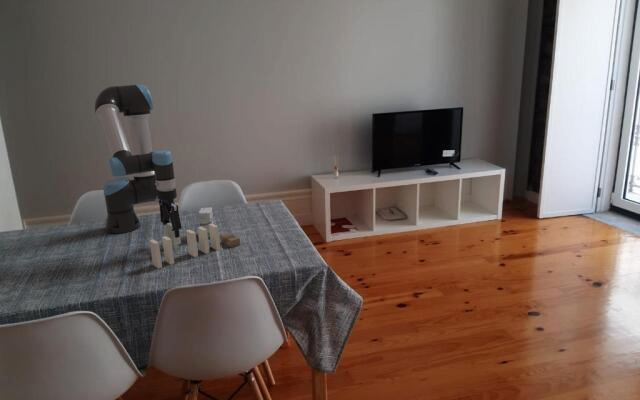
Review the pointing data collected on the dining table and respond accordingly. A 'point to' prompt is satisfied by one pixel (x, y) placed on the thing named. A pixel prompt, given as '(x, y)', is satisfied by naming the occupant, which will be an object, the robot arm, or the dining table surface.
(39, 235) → the dining table surface
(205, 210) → the ink box
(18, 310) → the dining table surface
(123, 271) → the dining table surface
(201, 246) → the domino
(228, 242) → the end block
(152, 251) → the domino
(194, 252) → the domino
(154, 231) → the dining table surface
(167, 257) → the domino
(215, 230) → the domino
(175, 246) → the domino
